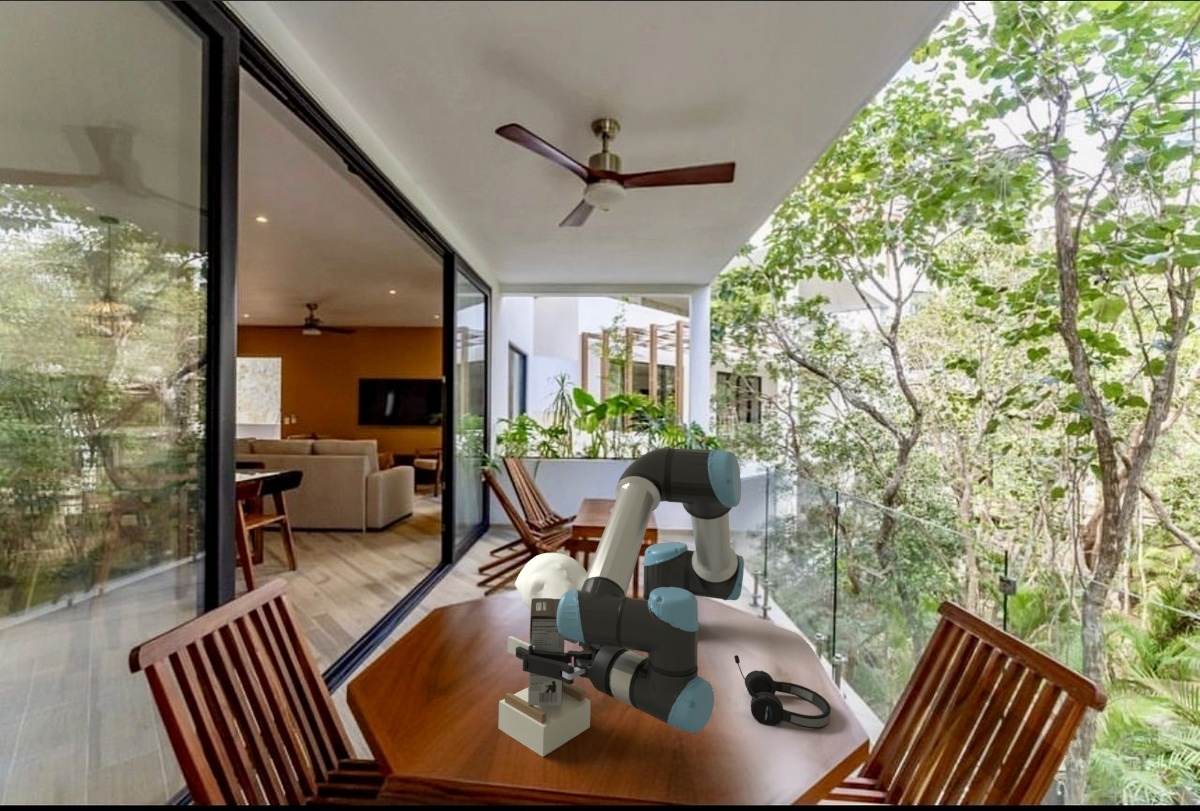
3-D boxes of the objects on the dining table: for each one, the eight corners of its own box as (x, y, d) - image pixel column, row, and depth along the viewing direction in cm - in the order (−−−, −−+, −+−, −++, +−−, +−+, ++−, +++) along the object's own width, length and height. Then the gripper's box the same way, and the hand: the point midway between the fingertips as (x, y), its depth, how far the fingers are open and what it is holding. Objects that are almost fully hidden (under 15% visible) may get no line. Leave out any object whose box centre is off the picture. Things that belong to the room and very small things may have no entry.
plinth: (545, 703, 109) (546, 670, 109) (589, 727, 101) (590, 692, 101) (498, 728, 100) (499, 693, 100) (542, 757, 92) (543, 718, 92)
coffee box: (529, 680, 105) (531, 597, 105) (562, 680, 105) (564, 597, 105) (526, 706, 95) (529, 615, 96) (563, 705, 96) (565, 614, 96)
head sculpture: (569, 656, 143) (500, 613, 156) (609, 614, 159) (543, 579, 171) (573, 604, 137) (501, 564, 149) (614, 565, 153) (546, 532, 165)
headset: (732, 644, 116) (825, 663, 113) (726, 686, 117) (819, 706, 114) (738, 672, 104) (843, 694, 101) (731, 719, 104) (836, 743, 101)
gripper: (573, 726, 80) (482, 675, 94) (661, 672, 97) (572, 636, 112) (574, 675, 80) (483, 632, 95) (662, 631, 97) (573, 600, 112)
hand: (531, 634), depth 103 cm, fingers closed on coffee box, 10 cm apart
